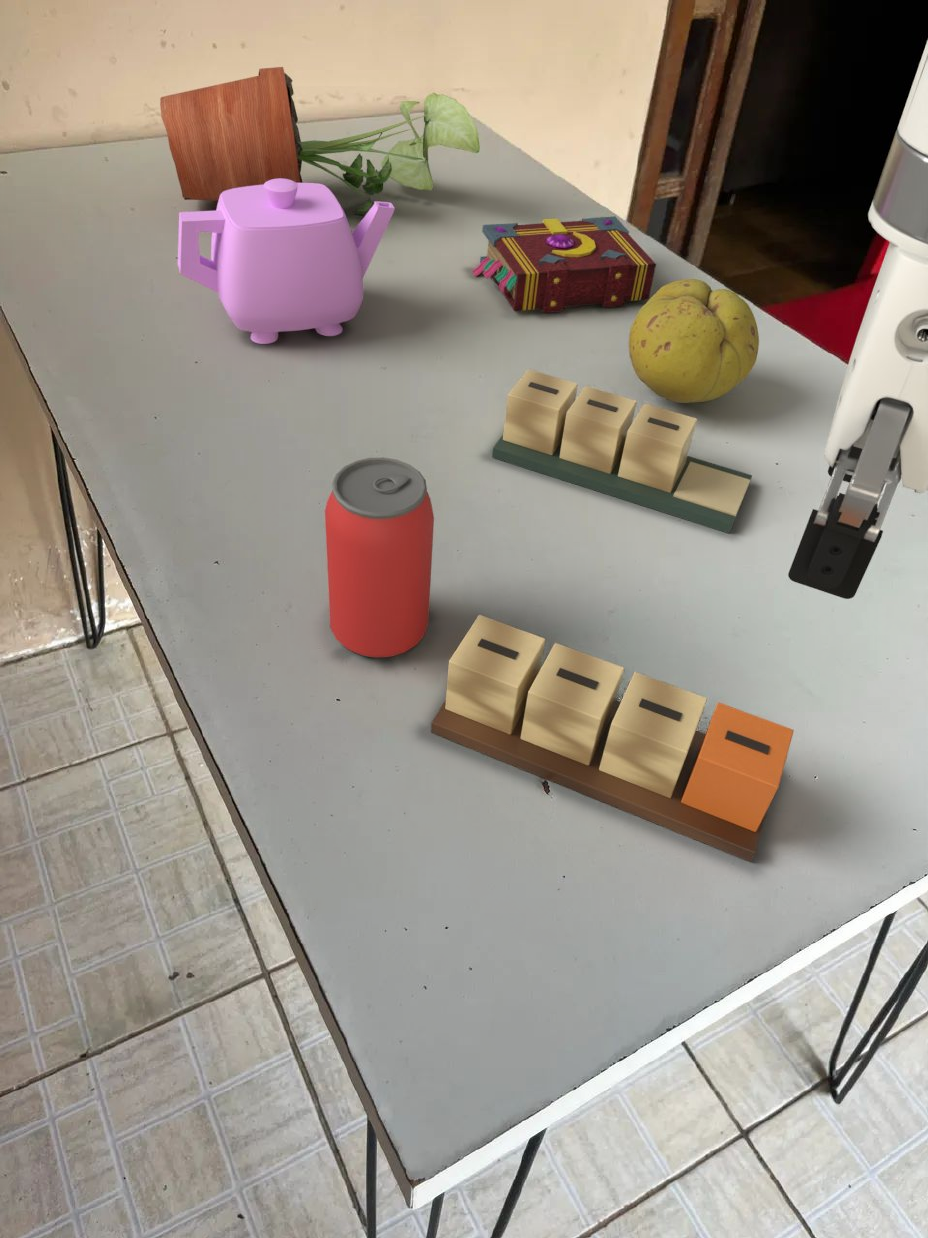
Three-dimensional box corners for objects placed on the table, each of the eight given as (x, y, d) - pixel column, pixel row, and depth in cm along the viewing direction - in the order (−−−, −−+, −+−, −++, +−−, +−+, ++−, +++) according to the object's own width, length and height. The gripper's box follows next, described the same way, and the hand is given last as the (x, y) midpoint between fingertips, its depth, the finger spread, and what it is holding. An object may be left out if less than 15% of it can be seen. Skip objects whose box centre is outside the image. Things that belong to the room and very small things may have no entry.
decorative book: (650, 304, 101) (660, 258, 97) (502, 318, 97) (507, 270, 93) (607, 255, 108) (615, 210, 105) (469, 266, 104) (472, 219, 101)
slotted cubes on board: (776, 771, 59) (804, 714, 55) (751, 862, 55) (779, 807, 51) (476, 657, 64) (483, 598, 60) (430, 732, 60) (434, 672, 56)
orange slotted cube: (771, 775, 58) (794, 728, 55) (755, 833, 55) (779, 786, 52) (699, 748, 59) (718, 700, 56) (680, 803, 56) (698, 755, 53)
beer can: (446, 639, 65) (457, 497, 57) (361, 677, 63) (358, 534, 54) (395, 581, 69) (398, 439, 61) (312, 614, 66) (303, 471, 58)
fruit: (596, 366, 91) (615, 263, 84) (711, 357, 94) (738, 256, 87) (640, 434, 84) (665, 327, 77) (763, 422, 87) (798, 318, 80)
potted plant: (187, 251, 106) (502, 220, 110) (152, 98, 96) (501, 69, 100) (190, 200, 117) (475, 173, 121) (159, 58, 107) (472, 33, 111)
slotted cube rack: (749, 484, 80) (768, 428, 76) (729, 533, 75) (748, 476, 71) (523, 415, 85) (530, 359, 81) (491, 457, 80) (497, 399, 76)
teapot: (198, 362, 87) (178, 222, 78) (177, 297, 96) (157, 163, 87) (411, 336, 93) (415, 202, 84) (374, 277, 101) (374, 149, 92)
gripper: (1071, 308, 32) (886, 664, 44) (1084, 150, 43) (934, 467, 55) (841, 254, 34) (724, 607, 46) (911, 116, 45) (802, 429, 57)
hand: (839, 530), depth 51 cm, fingers open, 9 cm apart
